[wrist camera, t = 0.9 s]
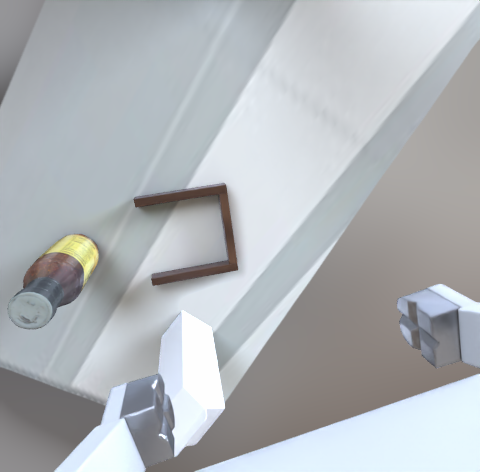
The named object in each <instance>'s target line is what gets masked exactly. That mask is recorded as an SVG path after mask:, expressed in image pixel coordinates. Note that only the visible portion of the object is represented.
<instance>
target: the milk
mask: <svg viewBox="0 0 480 472" xmlns="http://www.w3.org/2000/svg"><path fill="white" fill-rule="evenodd" d="M158 374H160V375H161V376H162V379H163V381H164V383H165V391H164V393H165V394H167V395H169V397H170V400H171V402H172V406H173V410H174V417H175V427H174V429H173V430H172V433H173V436H174V438H175V443H174V456H175V457H177V455H178V454H179V453H180V451H181V450H182V449H183V448H184V447H185V446H191V445H196V444H197V442H198V441H199V440H200V439H201V437H202V436H203V435H204V434H205V432H206V431H207V430H208V429H209V428H210V426H211V425H212V424H213V423H214V421H215V420H216V419H217V418H218V417H219V415H220V414H221V413H222V412H223V410H224V409H225V405H224V399H223V393H222V387H221V381H220V375H219V369H218V363H217V357H216V351H215V345H214V339H213V333H212V328H211V327H210V326H208V325H207V324H205V323H203V322H202V321H200V320H198V319H197V318H195V317H193V316H191V315H190V314H188V313H186V312H185V311H183V310H182V311H181V312H180V314H179V315H178V316H177V318H176V319H175V320H174V322H173V323H172V324H171V326H170V327H169V328H168V330H167V331H166V332H165V334H164V335H163V336H162V338H161V348H160V359H159V370H158Z"/></svg>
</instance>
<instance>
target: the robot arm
mask: <svg viewBox="0 0 480 472" xmlns="http://www.w3.org/2000/svg"><path fill="white" fill-rule="evenodd" d="M397 307H398V310H399V311H400V312H401V313H402V314H403V315H402V317H401V319H400V321H399V322H400V328H401V332H402V334H403V336H404V338H405V340H406V341H407V342H408V344H409V345H410V346H412V347H413V348H415V349H418V350H421V351H422V356H423V357H424V358H425V359H426V360H427V361H428V362H430V363H431V364H432V365H433V366H434V367H435V368H439V367H442V366H445V365H449V364H452V363H455V362H459V361H462V362H464V363H466V364H469V365H472V366H474V367H477V368H480V302H479V303H476V302H474V301H473V300H471V299H469V298H467V297H465V296H463V295H462V294H460V293H457V292H456V291H454V290H452V289H450V288H449V287H447V286H445V285H443V284H437V285H435V286H432V287H429V288H426V289H424V290H421V291H418V292H415V293H412V294H409V295H406V296H403V297H400V298H398V301H397ZM164 391H165V383H164V381H163V379H162V376H161V375H160V374H156V375H152V376H149V377H145V378H142V379H139V380H135V381H132V382H129V383H125V384H122V385H119V386H116V387H113V388H112V389H111V390H110V393H109V397H108V400H107V404H106V408H105V411H104V415H103V418H102V422H101V425H100V426H97V427H95V428H94V429H93V431H91V432H90V434H89V435H88V436H87V437H86V438H85V439H84V440H83V441H82V442H81V443H80V444H79V445H78V446H77V447H76V448H75V449H74V451H73V452H72V453H71V454H70V455H69V456H68V457H67V458H66V459H65V460H64V461H63V462H62V463H61V464H60V466H58V468H57V469H56V470H55V471H54V472H145V470H146V469H145V468H146V467H149V466H151V465H154V464H157V463H160V462H162V461H165V460H168V459H170V458H173V457H174V443H175V438H174V436H173V433H172V430H173V429H174V427H175V417H174V410H173V406H172V402H171V400H170V397H169V395H167V394H165V393H164ZM195 472H480V374H477V375H474V376H471V377H468V378H465V379H463V380H459V381H456V382H453V383H451V384H448V385H445V386H442V387H439V388H436V389H433V390H430V391H427V392H424V393H421V394H419V395H416V396H413V397H410V398H407V399H404V400H401V401H398V402H395V403H392V404H390V405H387V406H384V407H381V408H378V409H375V410H372V411H369V412H366V413H363V414H360V415H358V416H355V417H352V418H349V419H346V420H343V421H340V422H337V423H334V424H332V425H329V426H326V427H323V428H320V429H317V430H314V431H311V432H308V433H305V434H302V435H299V436H297V437H294V438H291V439H288V440H285V441H282V442H279V443H276V444H274V445H271V446H267V447H265V448H262V449H259V450H256V451H253V452H250V453H247V454H244V455H241V456H238V457H235V458H233V459H230V460H227V461H224V462H221V463H218V464H215V465H212V466H209V467H206V468H203V469H200V470H198V471H195Z"/></svg>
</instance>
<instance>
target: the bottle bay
mask: <svg viewBox="0 0 480 472" xmlns="http://www.w3.org/2000/svg"><path fill="white" fill-rule="evenodd" d="M217 194H218V197H219V204H220V210H221V217H222V223H223V230H224V237H225V243H226V250H227V257H228V260H227V261H222V262H216V263H211V264H205V265H200V266H194V267H189V268H183V269H178V270H172V271H167V272H161V273H155V274H152V278H151V280H152V285H153V286H155V285H160V284H165V283H171V282H176V281H182V280H187V279H192V278H198V277H203V276H209V275H214V274H219V273H225V272H230V271H236V270H238V265H237V258H236V251H235V244H234V237H233V230H232V223H231V216H230V209H229V202H228V195H227V188H226V184H225V183H222V184H215V185H209V186H202V187H196V188H190V189H183V190H177V191H170V192H164V193H157V194H151V195H145V196H138V197H135V198H134V203H135V207H141V206H148V205H154V204H160V203H167V202H173V201H179V200H185V199H192V198H198V197H204V196H211V195H217Z"/></svg>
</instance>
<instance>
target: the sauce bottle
mask: <svg viewBox="0 0 480 472" xmlns="http://www.w3.org/2000/svg"><path fill="white" fill-rule="evenodd" d="M97 262H98V248H97V245H96V244H95V243H94V242H93V241H92V240H91V239H90V238H88V237H87V236H85V235H83V234H72V235H68V236H65V237H63V238H62V239H60V240H59V241H57V242H56V243H55V244H54V245H53V246H52V247H50V248H49V249H48V250H47V251H46V252H45V253H44V254H43V255H42V256H40V257H39V258H38V259H37V260H36V261H35V262H34V264H33V265H32V266H31V267H30V268H29V269H28V271H27V272H26V274H25V277H24V280H23V283H24V284H23V288H24V289H22V290H21V291H20V292H18V293H17V294H16V295H15V296H14V297H13V298H12V299H11V300H10V302H9V304H8V315H9V318H10V319H11V321H12V322H13V323H14V324H15V325H17V326H18V327H21V328H24V329H38V328H42V327H43V326H45V325H46V324H47V323H48V322H49V321H50V320H51V319H52V318H53V316H54V315H55V313H56V310H57V309H56V308H58V307H60V306H63V305H66V304H69V303H71V302H72V301H74V300H75V299H76V298H77V297H78V295H79V294H80V292H81V291H82V289H83V287H84V286H85V284H86V282H87V280H88V279H89V277H90V275H91V274H92V272H93V270H94V269H95V267H96V265H97Z"/></svg>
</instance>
